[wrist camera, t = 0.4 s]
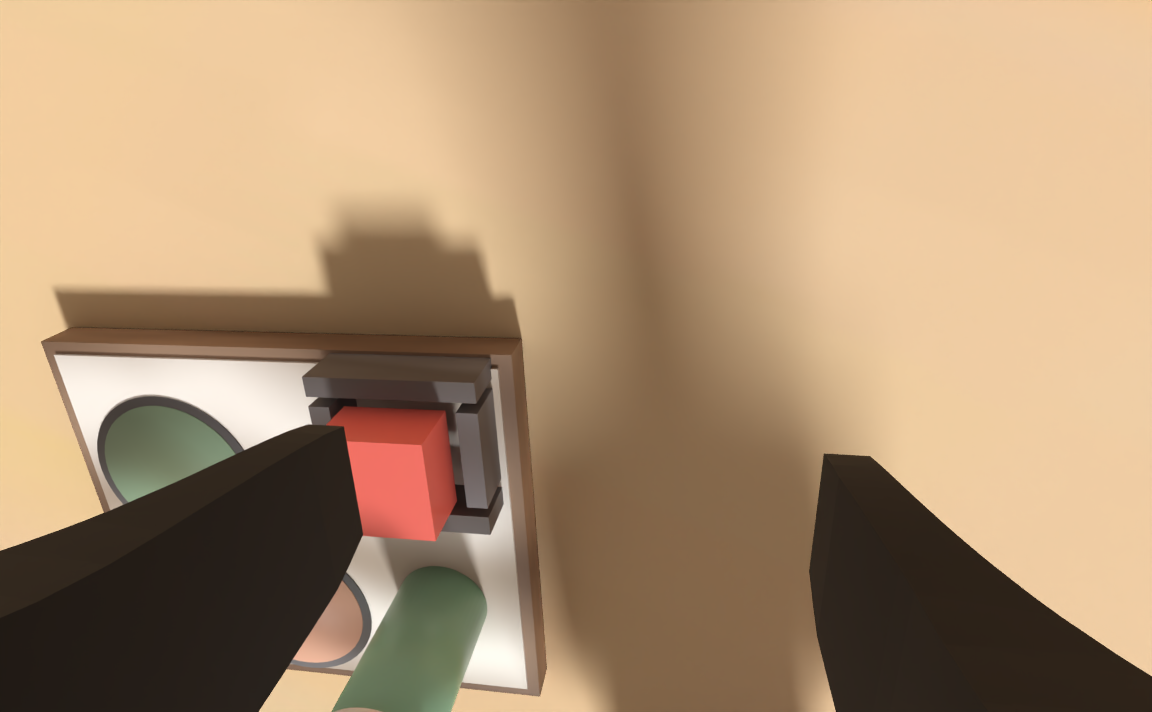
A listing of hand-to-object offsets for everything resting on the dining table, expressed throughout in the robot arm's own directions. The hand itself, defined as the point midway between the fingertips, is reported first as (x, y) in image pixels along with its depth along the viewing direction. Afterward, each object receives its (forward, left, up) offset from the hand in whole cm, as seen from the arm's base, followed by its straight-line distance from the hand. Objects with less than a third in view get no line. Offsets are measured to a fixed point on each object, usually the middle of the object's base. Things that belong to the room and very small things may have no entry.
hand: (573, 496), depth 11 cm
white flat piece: (-8, +11, -10) cm, 17 cm away
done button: (-4, +6, -7) cm, 10 cm away
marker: (-11, +6, -9) cm, 15 cm away
